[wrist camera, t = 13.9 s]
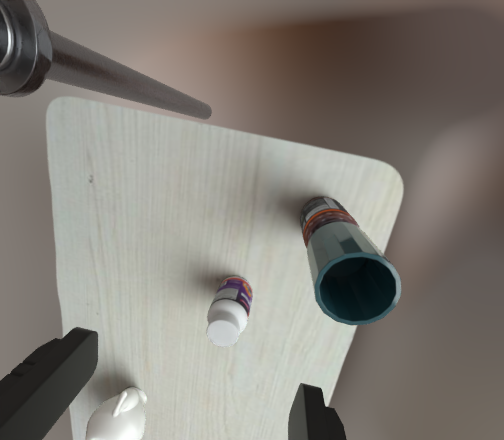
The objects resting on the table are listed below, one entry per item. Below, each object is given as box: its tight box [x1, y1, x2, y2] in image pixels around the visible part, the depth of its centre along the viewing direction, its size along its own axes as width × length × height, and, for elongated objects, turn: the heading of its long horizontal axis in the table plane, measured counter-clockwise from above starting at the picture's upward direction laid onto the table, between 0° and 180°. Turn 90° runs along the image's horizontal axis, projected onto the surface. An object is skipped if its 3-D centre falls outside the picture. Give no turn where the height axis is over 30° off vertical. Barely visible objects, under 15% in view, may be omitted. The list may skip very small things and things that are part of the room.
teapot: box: [86, 387, 147, 440], centre depth 46 cm, size 10×20×9 cm, turn 160°
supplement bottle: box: [300, 197, 359, 248], centre depth 30 cm, size 6×6×11 cm
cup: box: [307, 222, 401, 325], centre depth 21 cm, size 6×6×7 cm
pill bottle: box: [207, 276, 253, 347], centre depth 36 cm, size 5×5×10 cm
